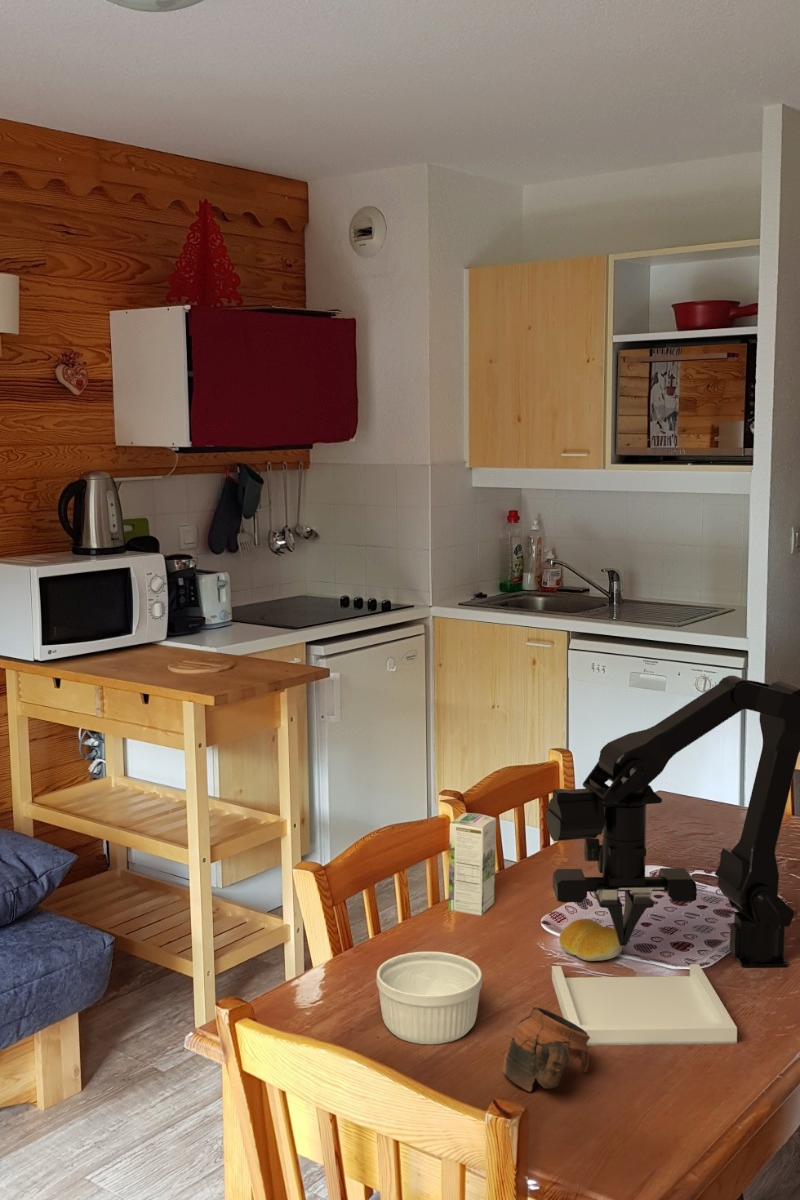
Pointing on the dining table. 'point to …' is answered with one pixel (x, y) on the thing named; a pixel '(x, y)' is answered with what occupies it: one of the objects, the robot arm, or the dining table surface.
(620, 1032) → the tray
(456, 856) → the syrup box
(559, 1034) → the pottery mug
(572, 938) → the bread roll
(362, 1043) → the dining table surface
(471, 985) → the ramekin
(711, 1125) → the dining table surface
